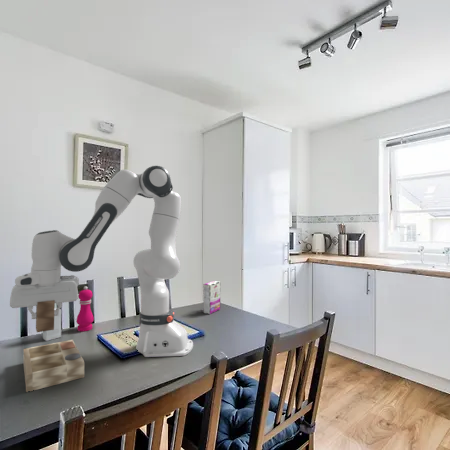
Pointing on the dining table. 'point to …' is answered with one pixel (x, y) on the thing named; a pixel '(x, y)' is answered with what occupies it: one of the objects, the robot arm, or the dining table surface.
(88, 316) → the pepper mill
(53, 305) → the plug
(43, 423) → the dining table surface
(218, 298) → the candy bar box
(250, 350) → the dining table surface
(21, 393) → the dining table surface
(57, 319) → the skincare box
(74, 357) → the tag socket block
